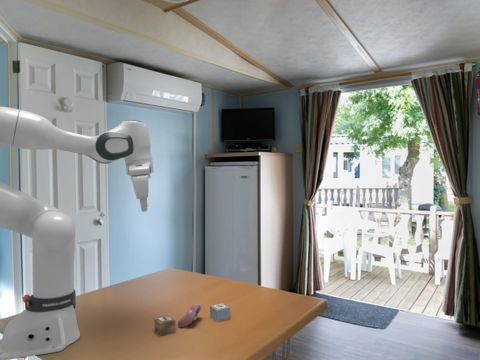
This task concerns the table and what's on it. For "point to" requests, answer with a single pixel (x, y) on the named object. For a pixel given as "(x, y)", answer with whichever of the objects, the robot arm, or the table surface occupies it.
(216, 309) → the slate grey block
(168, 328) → the walnut block
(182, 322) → the video game controller
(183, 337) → the table surface
